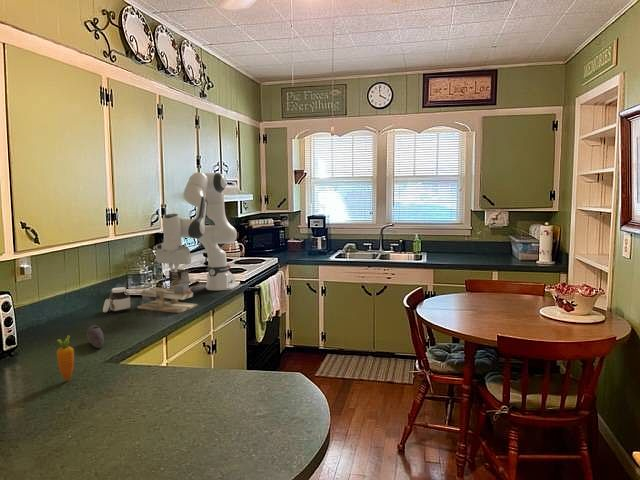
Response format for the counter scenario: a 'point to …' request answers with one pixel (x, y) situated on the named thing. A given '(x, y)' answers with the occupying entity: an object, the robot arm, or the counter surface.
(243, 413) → the counter surface
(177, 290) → the block
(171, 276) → the coffee box
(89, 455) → the counter surface
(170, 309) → the pivot stand
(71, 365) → the carrot
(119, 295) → the spread jar
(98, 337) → the perforated stone tool
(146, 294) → the beige long grooved bar
